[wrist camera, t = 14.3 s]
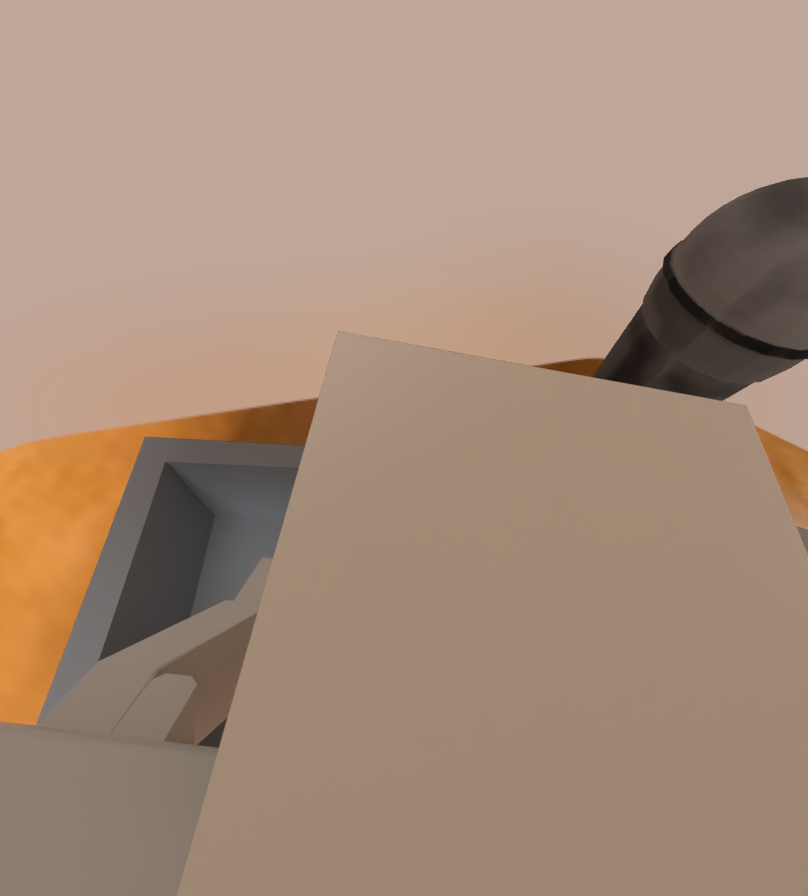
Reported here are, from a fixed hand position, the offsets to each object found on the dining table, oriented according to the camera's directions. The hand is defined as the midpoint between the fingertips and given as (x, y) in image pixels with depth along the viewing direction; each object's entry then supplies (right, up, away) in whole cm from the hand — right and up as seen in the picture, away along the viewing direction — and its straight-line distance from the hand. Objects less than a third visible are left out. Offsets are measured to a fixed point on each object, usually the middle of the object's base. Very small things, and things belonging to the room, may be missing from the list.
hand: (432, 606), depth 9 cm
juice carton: (-1, -4, +6) cm, 8 cm away
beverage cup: (+12, +5, +17) cm, 22 cm away
